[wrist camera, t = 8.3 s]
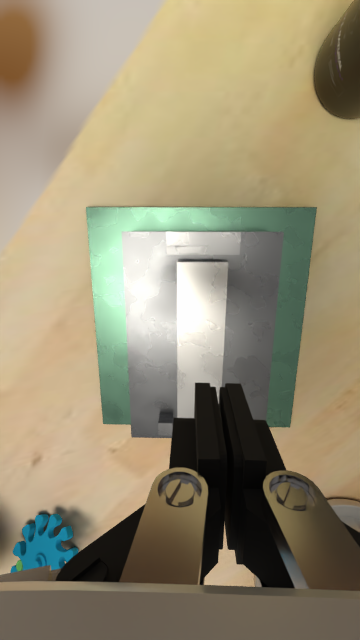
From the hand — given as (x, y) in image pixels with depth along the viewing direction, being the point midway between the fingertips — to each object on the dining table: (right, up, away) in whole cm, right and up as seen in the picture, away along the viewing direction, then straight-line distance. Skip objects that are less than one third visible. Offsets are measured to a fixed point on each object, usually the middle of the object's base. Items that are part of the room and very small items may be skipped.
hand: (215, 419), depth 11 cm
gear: (-17, -23, +28) cm, 40 cm away
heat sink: (0, +3, +19) cm, 19 cm away
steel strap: (0, +1, +14) cm, 14 cm away
